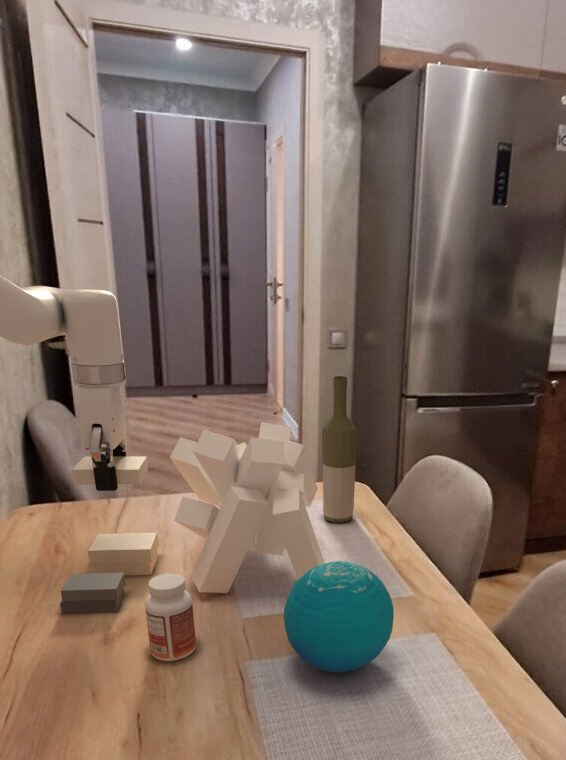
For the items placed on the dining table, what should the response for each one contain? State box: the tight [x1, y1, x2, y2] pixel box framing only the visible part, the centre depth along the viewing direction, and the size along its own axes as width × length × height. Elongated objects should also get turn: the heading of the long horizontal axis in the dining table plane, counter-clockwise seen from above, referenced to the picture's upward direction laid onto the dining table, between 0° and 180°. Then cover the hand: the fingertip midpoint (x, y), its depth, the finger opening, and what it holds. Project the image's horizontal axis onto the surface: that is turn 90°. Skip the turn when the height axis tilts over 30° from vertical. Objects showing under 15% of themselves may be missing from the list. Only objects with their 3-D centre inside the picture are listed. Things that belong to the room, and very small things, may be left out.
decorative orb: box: [283, 560, 395, 674], centre depth 91 cm, size 15×15×15 cm
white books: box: [87, 532, 159, 577], centre depth 116 cm, size 10×7×5 cm
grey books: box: [59, 573, 126, 615], centre depth 104 cm, size 8×6×4 cm
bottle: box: [321, 375, 358, 524], centre depth 136 cm, size 7×7×30 cm
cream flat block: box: [71, 455, 149, 486], centre depth 109 cm, size 10×7×2 cm
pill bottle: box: [144, 573, 197, 662], centre depth 92 cm, size 6×6×11 cm
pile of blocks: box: [169, 421, 325, 594], centre depth 115 cm, size 35×30×35 cm
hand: (112, 481), depth 110 cm, fingers closed on cream flat block, 7 cm apart
